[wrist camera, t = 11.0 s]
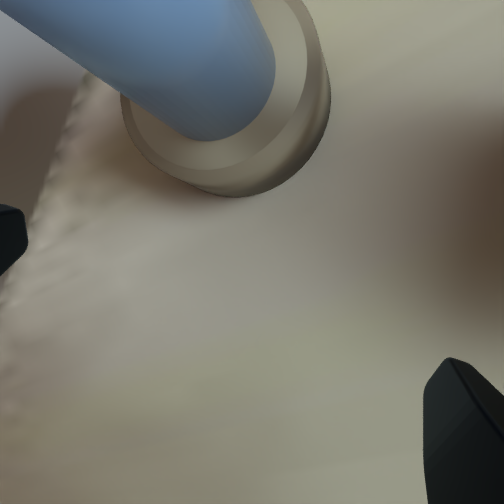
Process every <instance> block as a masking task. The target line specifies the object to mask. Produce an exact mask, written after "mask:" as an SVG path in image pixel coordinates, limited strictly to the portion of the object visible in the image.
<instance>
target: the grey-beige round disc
mask: <svg viewBox="0 0 504 504" xmlns="http://www.w3.org/2000/svg"><path fill="white" fill-rule="evenodd" d="M251 2H252V4H253V6H254V9H255V11H256V13H257V15H258V17H259V19H260V21H261V23H262V25H263V27H264V30H265V32H266V34H267V36H268V38H269V40H270V42H271V44H272V47H273V50H274V55H275V61H276V72H275V80H274V85H273V88H272V91H271V94H270V96H269V98H268V101H267V103H266V104H265V106H264V107H263V109H262V111H261V112H260V113H259V114H258V116H257V117H256V118H255V119H254V120H253V121H252V122H251V123H250V124H249V125H248V126H246V127H245V128H244V129H242V130H241V131H239V132H238V133H236V134H234V135H232V136H230V137H227V138H224V139H221V140H216V141H197V140H193V139H189V138H187V137H185V136H183V135H181V134H179V133H178V132H176V131H175V130H173V129H172V128H170V127H169V126H168V125H166V124H165V123H163V122H162V121H160V120H159V119H157V118H156V117H155V116H153V115H152V114H150V113H149V112H147V111H146V110H144V109H143V108H141V107H140V106H139V105H137V104H136V103H134V102H133V101H131V100H130V99H128V98H127V97H126V96H124V95H123V94H121V93H120V97H121V107H122V114H123V118H124V121H125V125H126V127H127V130H128V132H129V135H130V137H131V139H132V140H133V142H134V144H135V146H136V147H137V148H138V150H139V151H140V152H141V153H142V155H143V156H144V157H145V158H146V159H147V160H148V161H149V162H150V163H151V164H153V165H154V166H156V167H157V168H158V169H160V170H161V171H163V172H165V173H167V174H169V175H171V176H173V177H176V178H178V179H180V180H182V181H184V182H186V183H188V184H191V185H193V186H195V187H197V188H199V189H201V190H204V191H206V192H209V193H212V194H215V195H219V196H225V197H245V196H251V195H256V194H260V193H263V192H265V191H268V190H270V189H273V188H274V187H276V186H278V185H280V184H282V183H283V182H285V181H286V180H288V179H289V178H290V177H292V176H293V175H294V174H295V173H296V172H297V171H298V170H300V169H301V168H302V167H303V165H304V164H305V163H306V162H307V161H308V160H309V158H310V157H311V156H312V154H313V153H314V151H315V150H316V148H317V146H318V144H319V142H320V140H321V138H322V136H323V134H324V131H325V128H326V126H327V122H328V118H329V113H330V105H331V87H330V81H329V76H328V72H327V68H326V64H325V61H324V57H323V53H322V49H321V46H320V42H319V38H318V34H317V31H316V28H315V25H314V22H313V19H312V17H311V15H310V13H309V11H308V10H307V8H306V6H305V5H304V3H303V2H302V1H301V0H251Z"/></svg>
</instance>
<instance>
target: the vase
mask: <svg viewBox="0 0 504 504" xmlns="http://www.w3.org/2000/svg"><path fill="white" fill-rule="evenodd" d="M0 10H1V11H2V12H4V13H5V14H7V15H8V16H10V17H11V18H12V19H14V20H15V21H17V22H18V23H20V24H21V25H23V26H24V27H26V28H27V29H28V30H30V31H31V32H33V33H34V34H36V35H37V36H39V37H40V38H42V39H43V40H44V41H46V42H47V43H49V44H50V45H52V46H53V47H55V48H56V49H57V50H59V51H60V52H62V53H63V54H65V55H66V56H68V57H69V58H70V59H72V60H73V61H75V62H76V63H78V64H79V65H81V66H82V67H83V68H85V69H86V70H88V71H89V72H91V73H92V74H94V75H95V76H97V77H98V78H99V79H101V80H102V81H104V82H105V83H107V84H108V85H110V86H111V87H112V88H114V89H115V90H117V91H118V92H120V93H121V94H123V95H124V96H126V97H127V98H128V99H130V100H131V101H133V102H134V103H136V104H137V105H139V106H140V107H141V108H143V109H144V110H146V111H147V112H149V113H150V114H152V115H153V116H155V117H156V118H157V119H159V120H160V121H162V122H163V123H165V124H166V125H168V126H169V127H170V128H172V129H173V130H175V131H176V132H178V133H179V134H181V135H183V136H185V137H187V138H189V139H193V140H197V141H216V140H221V139H224V138H227V137H230V136H232V135H234V134H236V133H238V132H239V131H241V130H242V129H244V128H245V127H246V126H248V125H249V124H250V123H251V122H252V121H253V120H254V119H255V118H256V117H257V116H258V114H259V113H260V112H261V111H262V109H263V107H264V106H265V104H266V103H267V101H268V98H269V96H270V94H271V91H272V88H273V85H274V80H275V72H276V61H275V55H274V50H273V47H272V44H271V42H270V40H269V38H268V36H267V34H266V32H265V30H264V27H263V25H262V23H261V21H260V19H259V17H258V15H257V13H256V11H255V9H254V6H253V4H252V2H251V0H0Z"/></svg>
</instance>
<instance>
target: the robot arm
mask: <svg viewBox="0 0 504 504" xmlns="http://www.w3.org/2000/svg"><path fill="white" fill-rule="evenodd" d="M27 246H28V235H27V229H26V222H25V216H24V214H23V212H22V211H21V210H20V209H17V208H14V207H11V206H8V205H5V204H0V276H1V275H2V274H3V273H4V272H5V271H6V270H7V269H8V268H9V267H10V266H12V265H13V264H14V263H15V262H16V261H17V260H18V259H19V258H20V257H21V256H22V255H23V254H24V252H25V251H26V249H27ZM423 462H424V474H425V483H426V491H427V499H428V504H504V396H503V395H502V394H501V393H500V392H499V391H498V390H497V389H496V388H495V387H494V386H493V385H492V384H491V383H490V382H489V381H488V380H487V379H486V378H484V377H483V376H482V375H481V374H480V373H479V372H478V371H477V370H476V369H475V368H474V367H473V366H472V365H470V364H469V363H466V362H464V361H461V360H458V359H455V358H451V357H449V358H446V359H445V360H444V361H443V362H442V363H441V364H440V366H439V367H438V368H437V370H436V371H435V372H434V374H433V375H432V376H431V378H430V379H429V380H428V382H427V384H426V386H425V389H424V394H423Z"/></svg>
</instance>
